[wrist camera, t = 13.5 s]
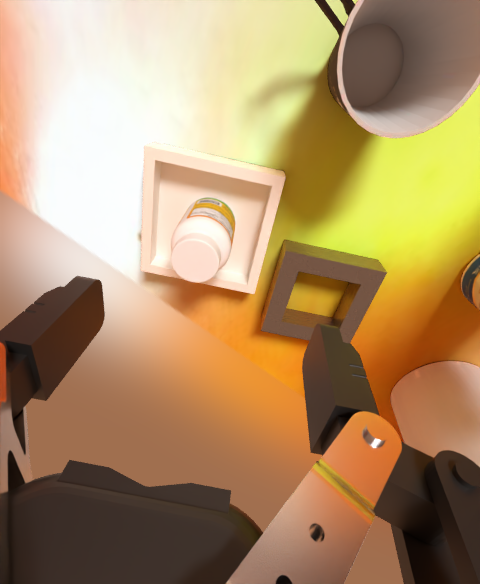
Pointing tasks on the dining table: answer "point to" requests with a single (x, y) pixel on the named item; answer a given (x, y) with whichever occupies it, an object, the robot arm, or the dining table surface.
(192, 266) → the supplement bottle
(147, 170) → the tray
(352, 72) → the coffee mug
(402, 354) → the dining table surface
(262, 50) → the dining table surface
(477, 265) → the beverage bottle
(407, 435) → the utensil holder
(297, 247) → the socket collar
